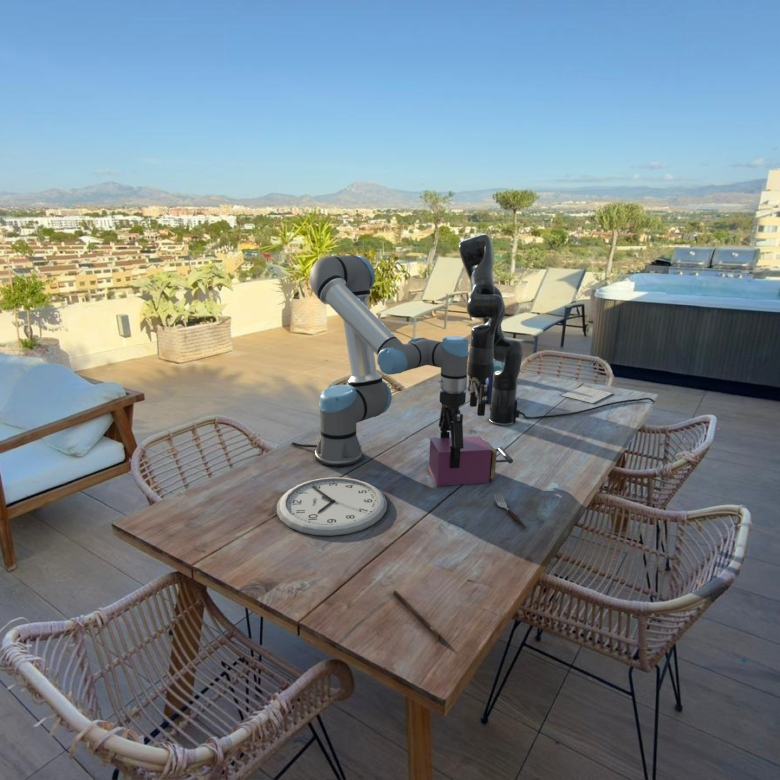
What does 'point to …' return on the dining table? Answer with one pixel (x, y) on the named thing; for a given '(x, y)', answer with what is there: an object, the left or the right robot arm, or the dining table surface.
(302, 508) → the wall clock
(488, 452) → the magenta rectangular box
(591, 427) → the dining table surface
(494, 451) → the drawer
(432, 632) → the brown thin rod
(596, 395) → the invitation card
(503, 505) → the fork
